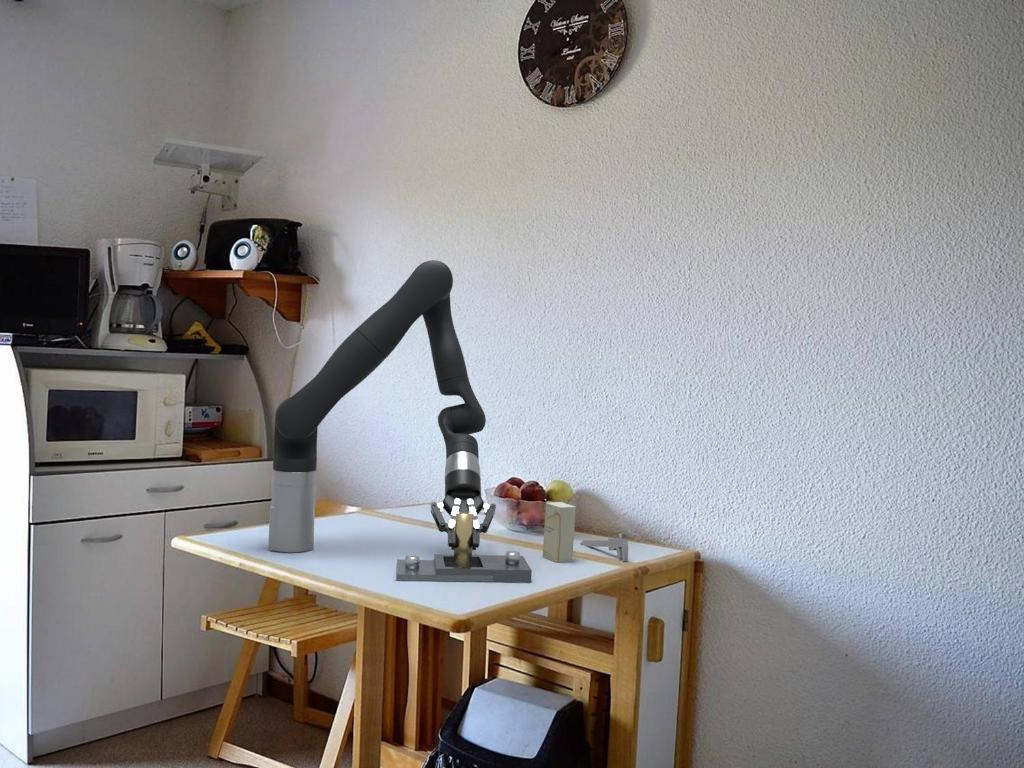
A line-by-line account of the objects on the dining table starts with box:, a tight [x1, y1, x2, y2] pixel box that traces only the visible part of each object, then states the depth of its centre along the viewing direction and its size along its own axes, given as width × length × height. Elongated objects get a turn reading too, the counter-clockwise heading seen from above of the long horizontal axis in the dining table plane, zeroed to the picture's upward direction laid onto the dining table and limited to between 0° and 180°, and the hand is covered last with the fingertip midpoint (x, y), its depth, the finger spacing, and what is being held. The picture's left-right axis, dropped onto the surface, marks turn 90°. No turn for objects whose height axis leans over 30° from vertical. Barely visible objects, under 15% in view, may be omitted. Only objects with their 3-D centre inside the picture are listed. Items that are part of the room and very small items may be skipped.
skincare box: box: [542, 501, 577, 563], centre depth 195 cm, size 6×4×12 cm
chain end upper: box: [433, 550, 533, 583], centre depth 178 cm, size 18×13×4 cm
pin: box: [453, 512, 474, 567], centre depth 178 cm, size 4×4×11 cm
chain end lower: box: [396, 554, 494, 583], centre depth 177 cm, size 18×13×3 cm
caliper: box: [579, 533, 629, 562], centre depth 205 cm, size 20×1×6 cm, turn 24°
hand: (464, 547), depth 176 cm, fingers closed on pin, 3 cm apart
